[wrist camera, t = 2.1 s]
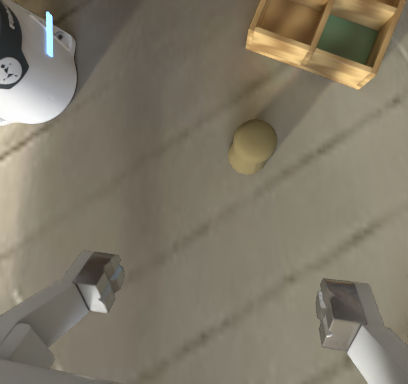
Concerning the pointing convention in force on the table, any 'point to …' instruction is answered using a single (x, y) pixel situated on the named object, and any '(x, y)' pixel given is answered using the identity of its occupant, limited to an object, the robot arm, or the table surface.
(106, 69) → the table surface
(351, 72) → the wooden compartment tray
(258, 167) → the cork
